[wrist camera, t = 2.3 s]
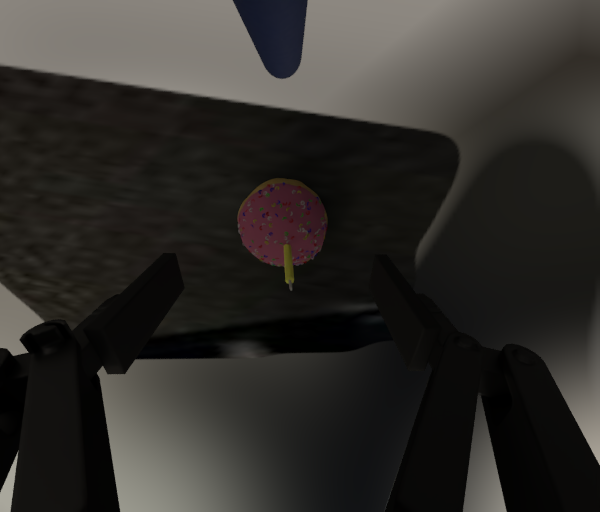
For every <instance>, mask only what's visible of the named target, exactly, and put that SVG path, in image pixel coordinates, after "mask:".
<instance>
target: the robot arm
mask: <svg viewBox="0 0 600 512" xmlns="http://www.w3.org/2000/svg"><path fill="white" fill-rule="evenodd" d="M183 290H184V284H183V280H182V276H181V273H180V269H179V265H178V261H177V257H176V253H163V254H162V255H161V256H160V257H159V258H158V259H157V260H156V261H155V262H154V263H153V264H152V265H151V266H150V267H148V268H147V269H146V270H145V271H144V272H143V273H142V274H141V275H140V276H139V277H138V278H137V279H136V280H135V281H134V282H133V283H131V284H130V285H129V286H128V287H127V288H126V289H125V290H124V291H123V292H122V293H121V294H116V295H114V296H113V297H111V298H109V299H107V300H106V301H105V302H104V303H102V304H101V305H100V306H99V307H98V309H96V310H95V311H94V312H92V314H91V315H89V316H88V317H87V318H86V319H85V320H84V321H82V322H81V323H80V324H79V325H78V326H77V327H76V328H75V329H74V330H72V331H71V329H70V328H69V326H68V324H67V323H66V321H65V320H61V319H59V320H51V321H47V322H44V323H42V324H39V325H37V326H35V327H33V328H31V329H30V330H28V331H27V332H26V333H24V334H23V335H22V337H21V338H20V341H21V343H22V344H23V345H24V346H25V348H26V349H27V351H28V352H29V353H25V354H21V355H16V356H13V355H12V354H11V353H10V352H9V351H8V350H7V349H4V348H0V492H1V489H2V487H3V485H4V482H5V480H6V478H7V475H8V473H9V471H10V468H11V466H12V464H13V462H14V459H15V457H16V454H17V452H18V459H17V466H16V475H15V483H14V490H13V498H12V505H11V512H120V508H119V501H118V495H117V488H116V482H115V475H114V469H113V463H112V456H111V449H110V443H109V437H108V430H107V424H106V417H105V411H104V404H103V398H102V391H101V385H100V378H99V376H98V375H97V372H98V371H99V370H100V368H101V367H102V366H104V368H105V370H106V372H107V374H125V373H126V372H127V370H128V369H129V367H130V366H131V364H132V363H133V362H134V360H135V359H136V357H137V356H138V354H139V353H140V352H141V350H142V349H143V347H144V346H145V344H146V343H147V341H148V340H149V339H150V337H151V336H152V334H153V333H154V331H155V330H156V329H157V327H158V326H159V324H160V323H161V321H162V320H163V318H164V317H165V316H166V314H167V313H168V311H169V310H170V308H171V307H172V305H173V304H174V303H175V301H176V300H177V298H178V297H179V295H180V294H181V292H182V291H183ZM369 290H370V292H371V294H372V296H373V298H374V300H375V302H376V305H377V307H378V309H379V311H380V313H381V315H382V317H383V319H384V321H385V323H386V325H387V327H388V329H389V331H390V333H391V336H392V338H393V340H394V342H395V343H396V346H397V348H398V350H399V352H400V354H401V356H402V358H403V360H404V362H405V364H406V366H407V369H408V371H424V370H425V368H426V366H427V363H429V364H430V366H431V368H432V373H431V375H430V377H429V379H428V382H427V387H426V390H425V393H424V395H423V398H422V401H421V404H420V407H419V410H418V413H417V416H416V419H415V422H414V425H413V428H412V431H411V434H410V437H409V440H408V443H407V446H406V449H405V452H404V455H403V458H402V461H401V464H400V466H399V470H398V473H397V475H396V479H395V481H394V484H393V487H392V490H391V493H390V496H389V499H388V502H387V505H386V508H385V511H384V512H463V505H464V497H465V489H466V481H467V474H468V466H469V458H470V451H471V443H472V435H473V427H474V420H475V412H476V404H477V396H478V395H481V398H482V402H483V407H484V411H485V416H486V420H487V424H488V429H489V434H490V438H491V443H492V447H493V452H494V456H495V461H496V465H497V470H498V474H499V479H500V483H501V488H502V492H503V496H504V501H505V506H506V510H507V512H600V465H599V463H598V461H597V460H596V458H595V456H594V454H593V452H592V450H591V448H590V446H589V445H588V443H587V441H586V439H585V437H584V435H583V433H582V431H581V429H580V428H579V426H578V424H577V422H576V420H575V418H574V416H573V415H572V413H571V411H570V409H569V407H568V405H567V403H566V401H565V400H564V398H563V396H562V394H561V392H560V390H559V388H558V387H557V385H556V383H555V381H554V379H553V377H552V376H551V373H550V372H549V370H548V368H547V366H546V364H545V362H544V361H543V360H542V359H541V357H539V356H538V355H537V354H536V353H534V352H533V351H531V350H529V349H527V348H525V347H523V346H520V345H515V344H506V345H505V346H504V347H503V349H502V351H499V350H494V349H490V348H486V347H482V346H481V344H480V343H479V342H478V341H477V340H476V339H474V338H473V337H471V336H469V335H467V334H464V333H461V332H458V331H457V329H456V328H455V327H454V326H453V324H452V323H451V322H450V321H449V320H448V318H447V317H446V316H445V315H444V314H443V313H442V311H441V310H440V309H439V308H438V307H437V305H436V304H435V303H434V301H433V300H432V299H430V298H429V297H427V296H426V295H425V294H416V293H415V292H414V290H413V289H412V288H411V286H410V285H409V284H408V282H407V281H406V280H405V278H404V277H403V276H402V274H401V273H400V272H399V270H398V269H397V268H396V266H395V265H394V264H393V263H392V261H391V260H390V259H389V257H388V256H387V255H375V258H374V263H373V268H372V273H371V279H370V284H369ZM18 450H19V451H18Z"/></svg>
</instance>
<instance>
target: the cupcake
mask: <svg viewBox="0 0 600 512" xmlns="http://www.w3.org/2000/svg"><path fill="white" fill-rule="evenodd" d="M238 227H239V231H240V233H239V234H240V235H241V238H242V241H243V243H242V244H243V245H244V246H246V248H247V249H248V250H249V252H251V253H252V254H253V255H254V256H256V257H257V258H258V259H259V260H260V261H262V262H263V261H264V262H266V263H268V264H271V265H273V266H284V267H285V281H286V283H288V284H289V288H290V290H291V291H292V290H293V289H292V283H293V282H294V273H293V265H297V264H298V265H297V266H299V265H300V264H302V263H303V264H304V263H306V261H309V260H310V259H312V258H313V259H314V256H316V255H317V253H318V252H319V251H321V248H322V244H323V241H324V239H325V234H326V230H327V214H326V211H325V208H324V206H323V204H322V202H321V200H320V198H319V196H318V195H317V194H316V193H315V192H314V191H312V190H311V189H310V188H308V187H307V186H306V185H305V184H303V183H302V182H300V181H297V180H292V179H284V178H275V179H271V180H268V181H266V182H264V183H262V184H261V185H259V186H258V187H257V188H256V189H255V190H254V191H253V192H252V193H251V194H250V195H249V196H248V197H247V198H246V199H245V200H244V201H243V203H242V205H241V207H240V209H239V212H238ZM239 231H238V232H239ZM264 262H263V263H264Z"/></svg>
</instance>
